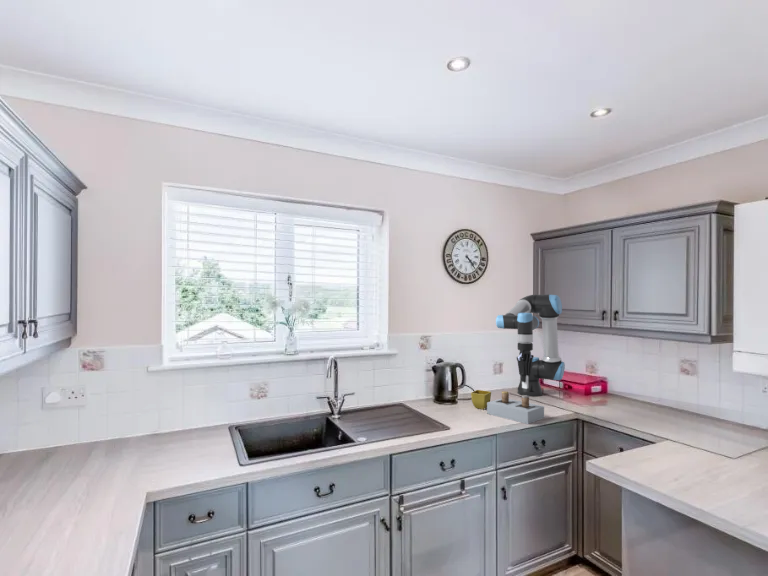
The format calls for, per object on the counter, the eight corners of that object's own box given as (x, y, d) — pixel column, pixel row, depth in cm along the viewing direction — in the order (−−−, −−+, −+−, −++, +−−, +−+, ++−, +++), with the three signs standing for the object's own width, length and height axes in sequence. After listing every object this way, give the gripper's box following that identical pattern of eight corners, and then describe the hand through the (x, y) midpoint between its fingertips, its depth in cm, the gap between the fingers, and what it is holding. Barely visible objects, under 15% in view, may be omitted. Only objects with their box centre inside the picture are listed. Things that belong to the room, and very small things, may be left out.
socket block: (504, 408, 238) (503, 397, 238) (544, 417, 220) (544, 405, 220) (487, 413, 227) (487, 402, 228) (527, 424, 209) (527, 411, 209)
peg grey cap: (524, 407, 222) (524, 394, 222) (530, 408, 219) (530, 396, 219) (520, 408, 219) (520, 395, 219) (526, 409, 217) (526, 397, 217)
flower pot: (485, 411, 233) (485, 394, 233) (470, 408, 238) (470, 392, 238) (491, 407, 240) (491, 391, 240) (477, 405, 245) (477, 389, 245)
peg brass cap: (504, 402, 231) (504, 390, 231) (510, 403, 228) (510, 392, 228) (500, 403, 228) (500, 391, 228) (506, 405, 226) (506, 393, 226)
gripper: (525, 341, 227) (525, 385, 226) (511, 342, 218) (511, 388, 218) (538, 342, 221) (538, 387, 221) (524, 344, 212) (525, 391, 212)
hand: (525, 388), depth 219 cm, fingers closed
